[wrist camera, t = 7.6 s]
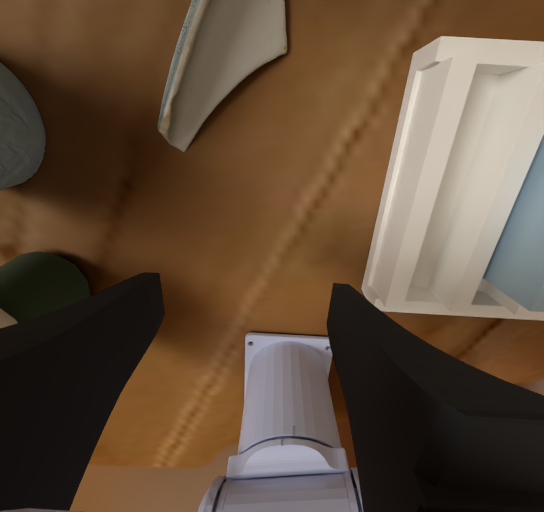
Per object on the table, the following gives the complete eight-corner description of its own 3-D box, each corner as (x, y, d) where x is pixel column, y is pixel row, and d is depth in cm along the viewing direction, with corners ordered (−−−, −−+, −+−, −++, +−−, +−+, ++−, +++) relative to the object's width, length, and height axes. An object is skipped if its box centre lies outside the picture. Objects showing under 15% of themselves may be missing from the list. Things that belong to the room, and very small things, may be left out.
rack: (542, 299, 22) (594, 331, 19) (361, 289, 22) (377, 319, 19) (671, 67, 16) (789, 47, 12) (413, 53, 16) (453, 28, 12)
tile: (487, 264, 20) (566, 313, 15) (460, 262, 20) (529, 311, 15) (544, 130, 16) (678, 129, 11) (511, 128, 16) (629, 126, 11)
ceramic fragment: (259, -136, 13) (250, -231, 10) (345, -61, 14) (366, -124, 11) (159, 135, 18) (130, 136, 15) (226, 175, 19) (214, 185, 16)
